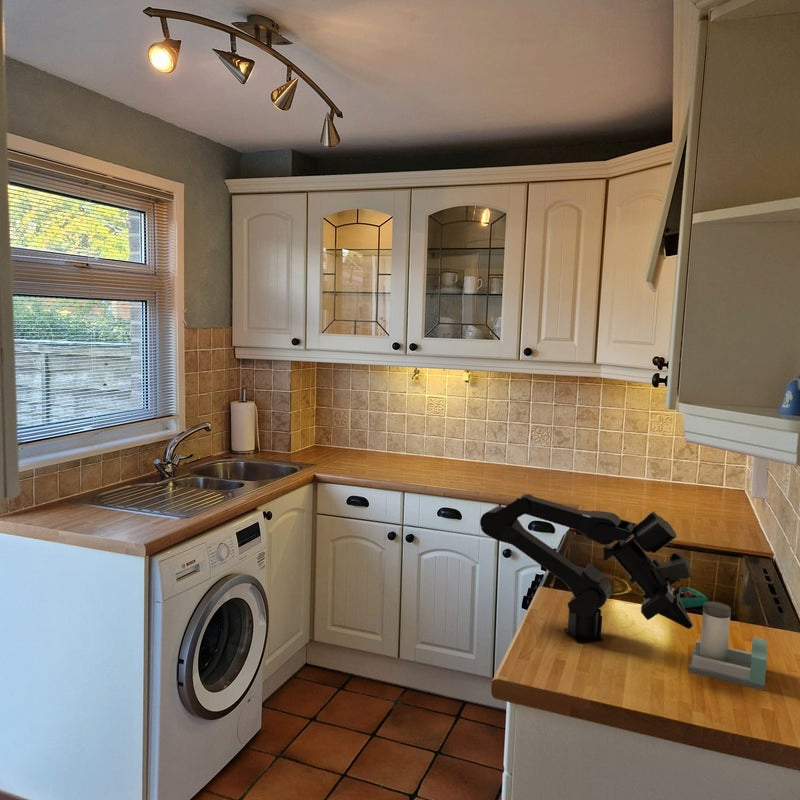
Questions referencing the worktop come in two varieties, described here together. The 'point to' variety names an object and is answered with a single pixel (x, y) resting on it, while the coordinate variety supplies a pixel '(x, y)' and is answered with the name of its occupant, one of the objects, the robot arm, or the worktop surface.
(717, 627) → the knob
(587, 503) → the worktop surface
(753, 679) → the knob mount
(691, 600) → the digital multimeter
